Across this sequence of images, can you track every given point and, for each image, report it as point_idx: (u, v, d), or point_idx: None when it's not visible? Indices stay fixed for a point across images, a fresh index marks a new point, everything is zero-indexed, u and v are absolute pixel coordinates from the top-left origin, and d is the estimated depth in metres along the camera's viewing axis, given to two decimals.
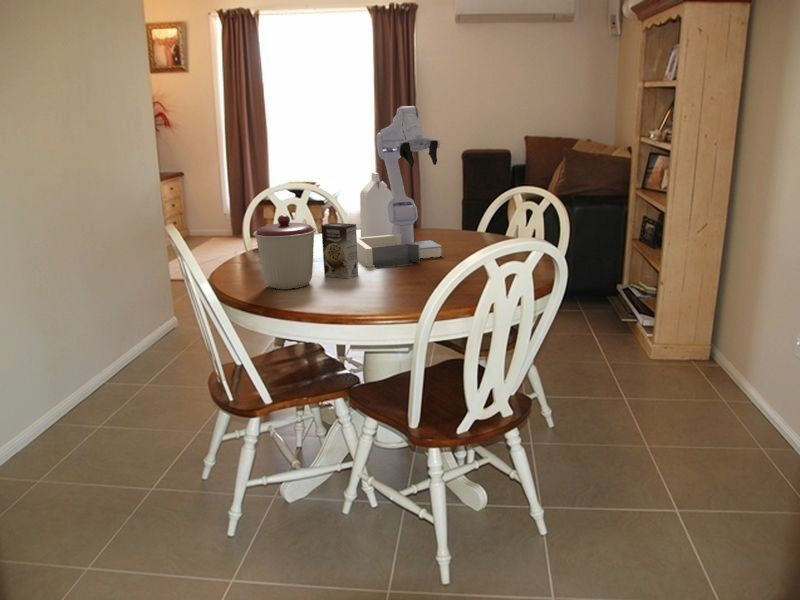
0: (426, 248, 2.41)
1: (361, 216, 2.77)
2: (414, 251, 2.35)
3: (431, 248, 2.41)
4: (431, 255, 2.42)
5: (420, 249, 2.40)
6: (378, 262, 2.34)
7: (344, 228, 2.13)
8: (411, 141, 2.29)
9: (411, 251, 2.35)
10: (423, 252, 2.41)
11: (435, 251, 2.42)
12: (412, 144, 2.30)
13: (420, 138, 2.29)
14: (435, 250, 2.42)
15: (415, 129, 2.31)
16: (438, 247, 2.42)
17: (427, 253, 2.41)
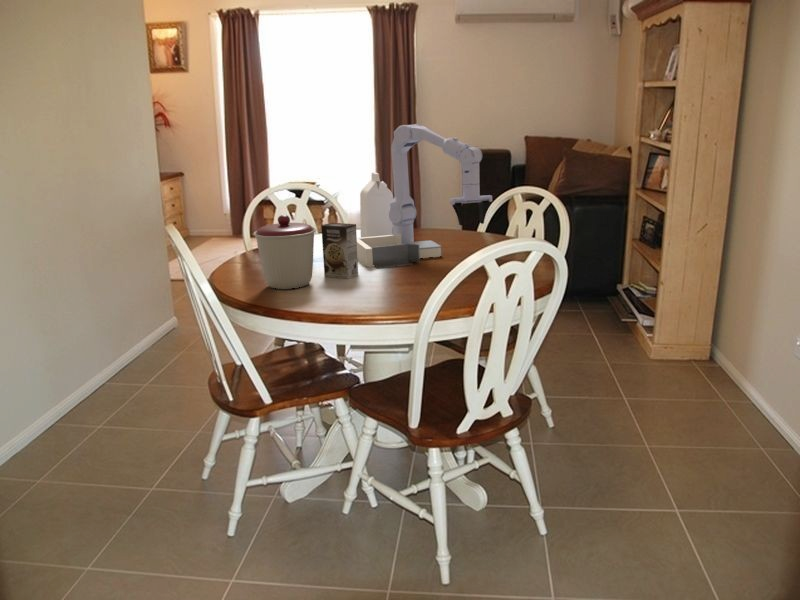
0: (426, 248, 2.41)
1: (361, 216, 2.77)
2: (414, 251, 2.35)
3: (431, 248, 2.41)
4: (431, 255, 2.42)
5: (420, 249, 2.40)
6: (378, 262, 2.34)
7: (344, 228, 2.13)
8: (466, 200, 2.38)
9: (411, 251, 2.35)
10: (423, 252, 2.41)
11: (435, 251, 2.42)
12: (466, 201, 2.39)
13: None
14: (435, 250, 2.42)
15: (473, 187, 2.36)
16: (438, 247, 2.42)
17: (427, 253, 2.41)
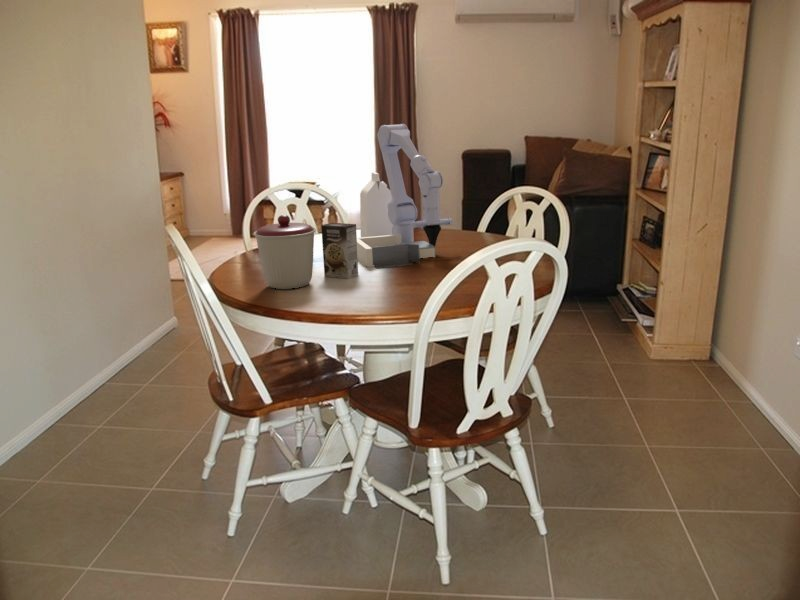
0: (419, 248, 2.40)
1: (361, 216, 2.77)
2: (414, 251, 2.35)
3: (424, 248, 2.41)
4: (424, 255, 2.41)
5: None
6: (378, 262, 2.34)
7: (344, 228, 2.13)
8: (426, 224, 2.43)
9: (411, 251, 2.35)
10: None
11: (428, 251, 2.41)
12: (427, 224, 2.45)
13: None
14: (428, 251, 2.41)
15: (433, 212, 2.42)
16: (431, 247, 2.41)
17: (420, 254, 2.41)
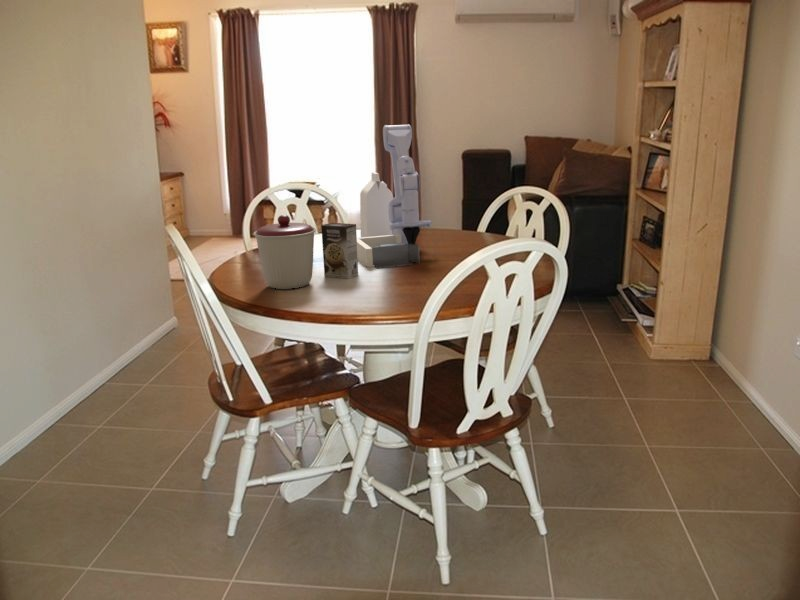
0: None
1: (361, 216, 2.77)
2: (414, 251, 2.35)
3: None
4: None
5: None
6: (378, 262, 2.34)
7: (344, 228, 2.13)
8: (405, 226, 2.41)
9: (411, 251, 2.35)
10: None
11: None
12: (405, 226, 2.43)
13: None
14: None
15: (412, 213, 2.40)
16: None
17: None
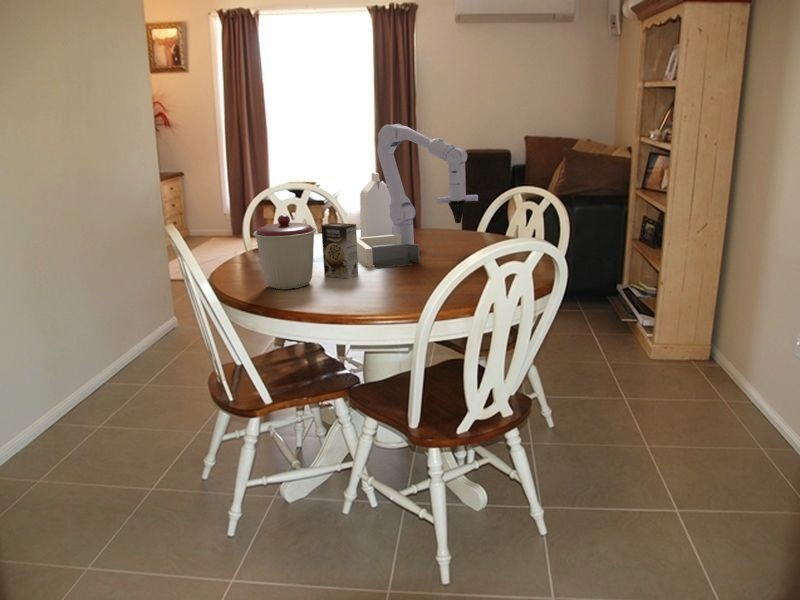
0: None
1: (361, 216, 2.77)
2: (414, 251, 2.35)
3: None
4: None
5: None
6: (378, 262, 2.34)
7: (344, 228, 2.13)
8: (452, 199, 2.45)
9: (411, 251, 2.35)
10: None
11: None
12: (452, 200, 2.46)
13: None
14: None
15: (459, 187, 2.43)
16: None
17: None
